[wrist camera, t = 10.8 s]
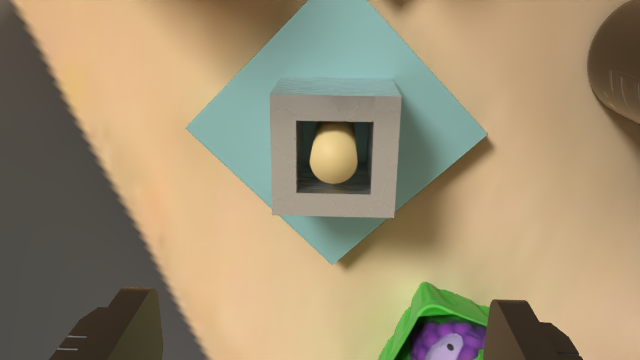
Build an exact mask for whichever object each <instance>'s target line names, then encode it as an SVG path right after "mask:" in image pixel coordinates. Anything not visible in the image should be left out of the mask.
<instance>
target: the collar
mask: <svg viewBox="0 0 640 360" xmlns="http://www.w3.org/2000/svg"><path fill="white" fill-rule="evenodd" d="M269 96H270V138H271V180H272V215H289V216H331V217H373V218H394V213H395V197H396V181H397V165H398V148H399V132H400V116H401V99H402V96H401V94H400V92H399V91H398V89H397V87H396V85H395V83H394V81H393V79H392V78H328V77H281V78H280V79H279V81H278V82H277V84H276V85H275V87H274V88H273V90H272V91H271V93H270V94H269ZM303 121H348V122H368V133H367V158H366V163H364V162H357V167H356V170H355V172H354V174H353V175H352V176H351V177H350V178H349V179H348V180H346V181H344V182H341V183H337V184H330V183H326V182H324V181H322V180H320V179H319V178H317V177H316V176H315V174H314V173H313V171H312V169H311V166H310V161H303Z"/></svg>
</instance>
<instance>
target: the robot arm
mask: <svg viewBox="0 0 640 360" xmlns="http://www.w3.org/2000/svg"><path fill="white" fill-rule="evenodd" d="M162 352H163V338H162V328H161V319H160V310H159V300H158V294H157V291H156V289H155V288H136V287H133V288H132V287H123V288H121V290H120V291H119V292H118V294H117V295H116V296H115V298H114V299H113V300H112V302H111V303H110V305H109V306H108V307H107V308H103V307H98V308H97V309H95V310H94V311H92V312H91V313H89V314H88V315H87V316H85V317H83V318H82V319H80V320H79V322H78V323H77V324H76V326H75V327H74V328H73V329H72V331H71V332H70V333H69V335H68V338H65V340H64V341H63V342H62V344H61V345H60V346H59V350H56V351H55V353H54V354H53V355H52V357H51V358H50V360H161V359H162ZM483 360H583V359H582V357H581V356H579V352H578V351H577V349H576V348H575V346H574V345H573V343H572V342H571V340H570V339H569V337H568V336H567V335H565V334H564V333H563V332H562V331H560V330H559V329H558V328H557V327H555V326H554V325H553V324H551V323H544V322H539V320H538V319H537V317H536V315H535V314H534V312H533V310H532V308H531V307H530V305H529V303H528V302H527V301H525V300H496V299H494V300H492V302H491V304H490V309H489V316H488V323H487V329H486V336H485V343H484V350H483Z"/></svg>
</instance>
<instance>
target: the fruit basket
mask: <svg viewBox="0 0 640 360" xmlns="http://www.w3.org/2000/svg"><path fill="white" fill-rule="evenodd" d="M489 309H490V308H489V307H486V306H480V305H476V304H475V303H473V302H472V301H471V300H469V299H466V298H464V297H462V296H459V295H457V294H454V293H452V292H449V291H447V290H440V289H438V290H437V289H436V288H435V287H434V286H433V285H431V284H430V283H427V282H423V283H421V285H420V286H419V288H418V290H417V291H416V293H415V295H414V297H413V299H412V303H411V307H409V308H408V309H407V310H406V311H405V313H404V314H403V316H402V318H401V319H400V321H399V323H398V325H397V326H396V329H395V334H394V335H393V336H392V337H391V338H390V339H389V340H388V342H387V344H386V346H385V347H384V349H383V351H382V353H381V355H380V357H379V360H483V350H484V343H485V336H486V329H487V323H488V316H489Z"/></svg>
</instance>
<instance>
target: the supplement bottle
mask: <svg viewBox="0 0 640 360" xmlns="http://www.w3.org/2000/svg"><path fill="white" fill-rule="evenodd" d="M587 65H588V76H589V81H590V84H591V86H592V89H593V91H594V93H595V94H596V96H597V97H598V98H599V100H600V101H601V102H602V103H603V104H604V105H606V106H607V107H608V108H609V109H611V110H613V111H614V112H616V113H618V114H620V115H621V116H623V117H625V118H627V119H630V120H632V121H634V122H636V123H638V124H640V0H630V1H628V2H626V3H625V4H623V5H622V6H620V7H619V8H618V9H616V10H615V11H614V12H613V13H612V14H611V15H610V16H609V17H608V18H607V19H606V20H605V21H604V23H603V24H602V25H601V27H600V28H599V30H598V31H597V33H596V35H595V37H594V39H593V41H592V44H591V47H590V50H589V55H588V63H587Z"/></svg>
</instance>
